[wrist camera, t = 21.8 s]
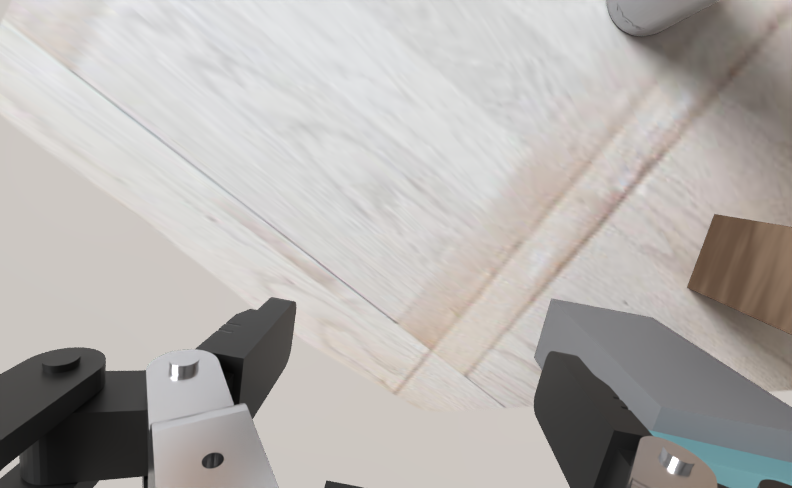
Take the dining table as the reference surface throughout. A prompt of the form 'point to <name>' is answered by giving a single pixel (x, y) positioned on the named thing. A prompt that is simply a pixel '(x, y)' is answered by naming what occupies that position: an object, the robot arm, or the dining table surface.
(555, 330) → the block
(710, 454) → the block
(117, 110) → the dining table surface
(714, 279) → the stand
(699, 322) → the dining table surface
